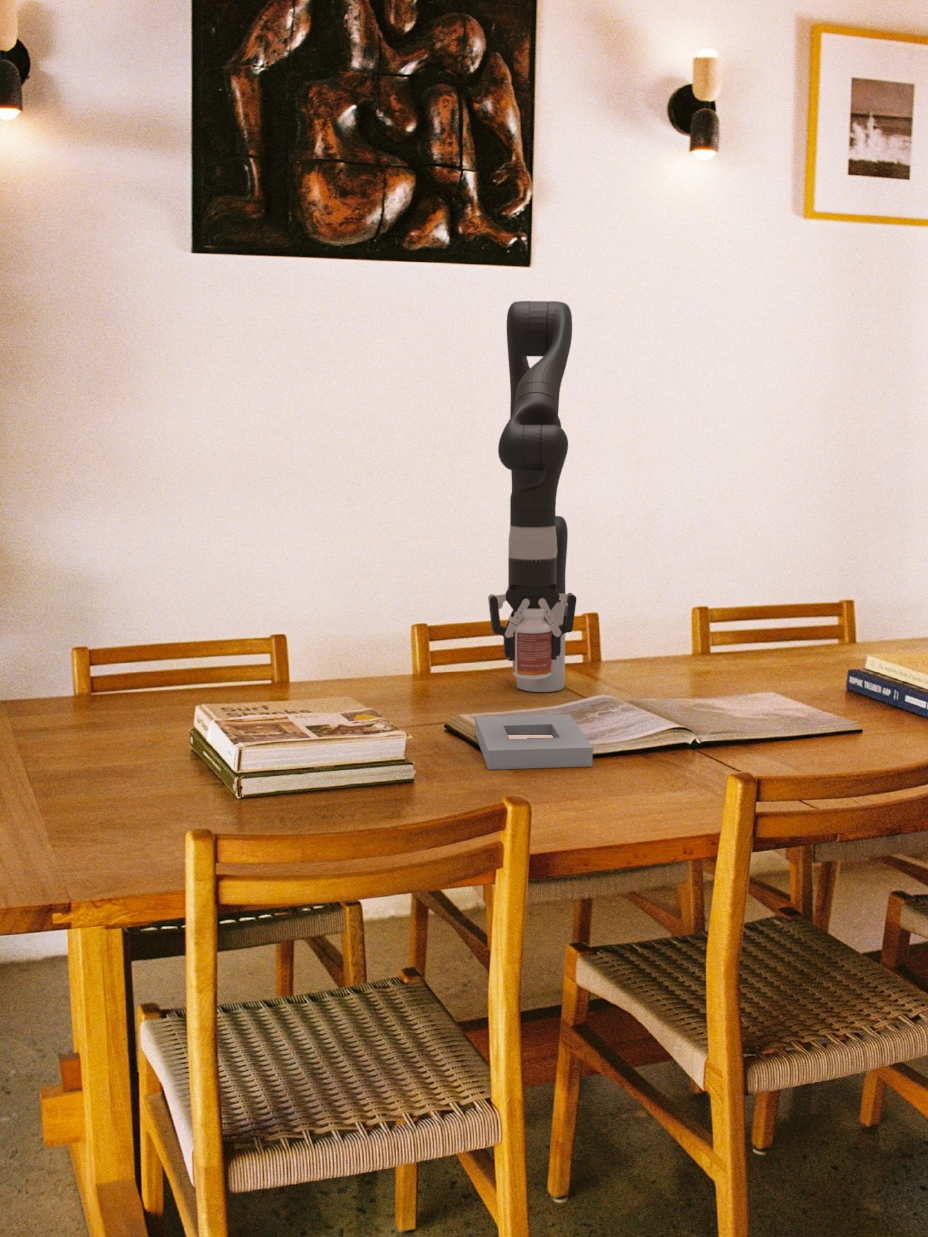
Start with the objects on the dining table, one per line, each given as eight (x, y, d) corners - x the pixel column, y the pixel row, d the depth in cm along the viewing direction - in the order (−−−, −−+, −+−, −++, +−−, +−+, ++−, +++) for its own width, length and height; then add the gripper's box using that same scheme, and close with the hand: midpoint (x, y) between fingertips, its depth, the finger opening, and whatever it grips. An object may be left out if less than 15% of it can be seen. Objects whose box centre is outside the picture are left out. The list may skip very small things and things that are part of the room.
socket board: (475, 734, 210) (475, 716, 209) (569, 731, 211) (569, 714, 210) (488, 769, 190) (488, 750, 189) (592, 766, 191) (592, 747, 191)
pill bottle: (559, 677, 198) (560, 607, 196) (527, 682, 194) (528, 611, 192) (535, 669, 203) (536, 602, 201) (504, 674, 199) (505, 606, 197)
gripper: (573, 550, 199) (572, 653, 202) (484, 552, 198) (484, 655, 201) (582, 556, 192) (581, 663, 195) (489, 558, 191) (489, 665, 194)
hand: (531, 659), depth 198 cm, fingers closed on pill bottle, 6 cm apart
